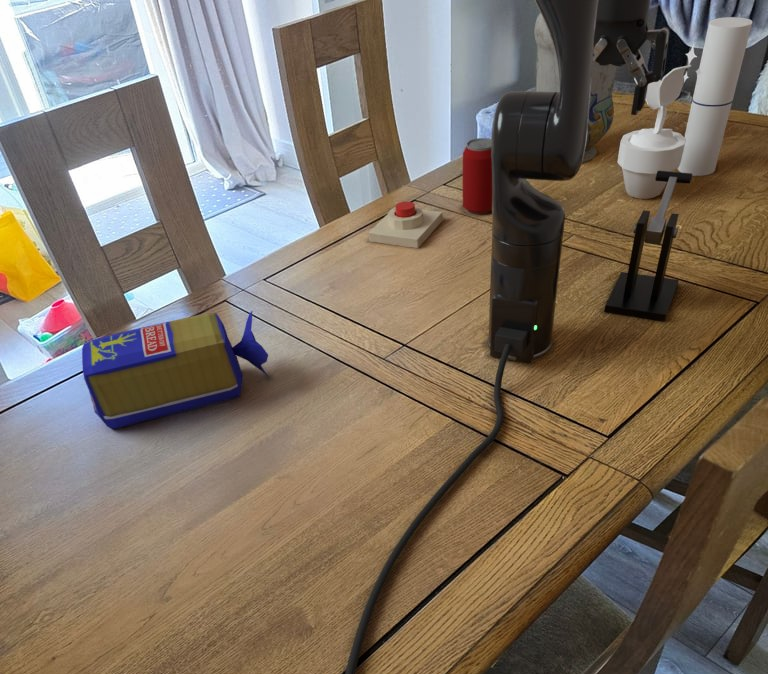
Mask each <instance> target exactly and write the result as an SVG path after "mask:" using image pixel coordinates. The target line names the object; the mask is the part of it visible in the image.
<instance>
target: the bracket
mask: <svg viewBox="0 0 768 674" xmlns="http://www.w3.org/2000/svg"><path fill="white" fill-rule="evenodd" d="M650 213H651V210H645V209H644V210H642V212H641V214H640V216H639V217H638V219H637V221H636V222H635V223H634V226H633V231H632V233H633V234H634V236H633V243H632V248H631V253H630V257H629V258H630V259H629V265H628V270H627V272H626V271H621V272H620V273H619V276H618V278H617V280H616V282H615V284H614V286H613V288H612V290H611V292H610V295H609V297H608V299H607V300H606V304H605V305H604V311H603V312H604V313H609V314H613V315H614V314H615V315H621V316H625V317H626V316H627V317H633V318H639V319H645V320H651V321H658V322H666V319H667V316H668V313H669V310H670V308H671V305H672V303H673V300H674V297H675V294H676V292H677V289H678V286H679V282H680V279H675V278H669V277H665V276H666V273H667V267H668V264H669V259H670V255H671V250H672V246H673V242H674V239H676V238H677V236H678V233H679V228H678V227H677V223H678V220H679V215H680V214H679V213H671V214H670V216H669V218H668V221H667V222H666V225H665V231H664V234H663V237H662V241H661V247H660V252H659V257H658V262H657V266H656V270H655V275H647V274H641V273H639V270H640V265H641V261H642V255H643V250H644V245H645V236H646V230H647V227H648V224H649V221H650Z"/></svg>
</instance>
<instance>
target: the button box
mask: <svg viewBox="0 0 768 674" xmlns="http://www.w3.org/2000/svg"><path fill="white" fill-rule="evenodd" d="M443 217H444V216H443V211H437V210H430V209H423V208H421V207H419V206H416V205H415V215H414V216H411V217H406V218H401V217H397V216H396V207H395V206H394V207H393V208H391V209H390V210H389V211H388V212H387V214H386V215H385V216H384V217H383V218H382V219H381V220H379V222H378V223H377V224H376V225H374V227H373V228H372V229H370V231H369V232H368V241H369V242H370V243H376V244H377V243H379V244H384V245H390V246H391V245H392V246H399V247H405V248H406V247H407V248H411V249H412V248H414V249H419V248H420V247H421V246H422V244H423V243H425V241H426V240H427V239H428V238H429V236H431V234H432V233H434V231H435V230H436V229H437V228H438V226H439V225H440V224H441V223H442V222H443V220H444V219H443Z"/></svg>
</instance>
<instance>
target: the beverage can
mask: <svg viewBox="0 0 768 674" xmlns="http://www.w3.org/2000/svg"><path fill="white" fill-rule="evenodd" d="M462 207H463V208H464V209H465V210H466V211H467V212H469V213H471V214H478V215H479V214H480V215H481V214H485V213H489V212H492V155H491V138H488V137H479V138H473V139H470V140H468V141H467V142H466V146H465V148H464V150H463V152H462Z"/></svg>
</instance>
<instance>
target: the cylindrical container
mask: <svg viewBox="0 0 768 674" xmlns="http://www.w3.org/2000/svg"><path fill="white" fill-rule="evenodd" d="M752 27H753V20H751V19H750V18H746V17H738V16H727V17H718V18H714V19H712V20H710V21H709V22H708V26H707V31H706V34H705V35H706V36H705V39H704V45H703V49H702V54H701V58H700V63H699V67H700V70H701V71H702V72H701V73H699V75H698V77H697V76H696V81H695V86H694V90H693V95H692V100H691V104H690V109H689V113H688V119H687V124H686V129H685V133H684V137H685V138H686V141H685V146H684V151H683V155H682V160H681V163H680V166H679V167H678V168H677V170H678V172H681V173H692V177H693V176H694V177H698V176H699V177H701V176H703V177H704V176H709V175H712V174H713V173H715V171H716V168H717V164H718V161H719V155H720V151H721V147H722V145H723V140H724V136H725V132H726V128H727V124H728V120H729V117H730V112H731V108H732V105H733V101H734V97H735V93H736V89H737V85H738V81H739V77H740V73H741V70H742V69H741V68H742V65H743V61H744V57H745V53H746V50H747V45H748V41H749V37H750V33H751V30H752Z"/></svg>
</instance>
